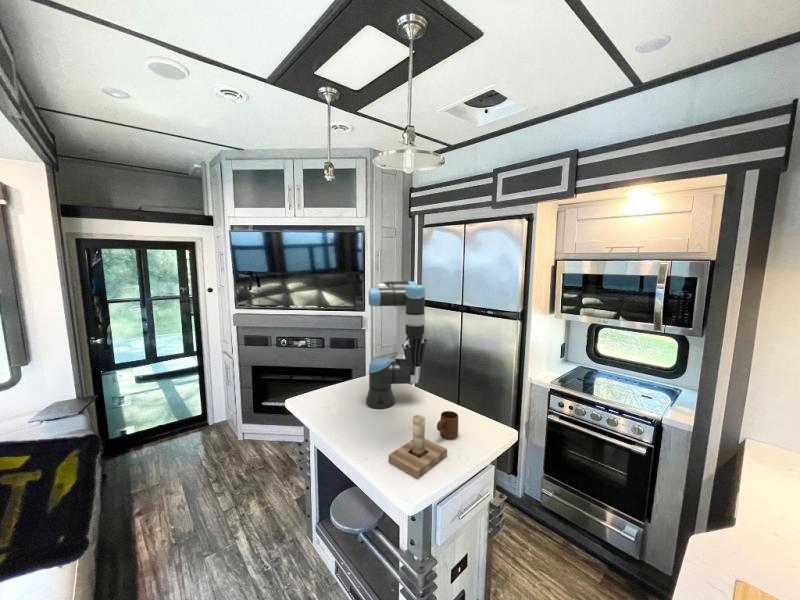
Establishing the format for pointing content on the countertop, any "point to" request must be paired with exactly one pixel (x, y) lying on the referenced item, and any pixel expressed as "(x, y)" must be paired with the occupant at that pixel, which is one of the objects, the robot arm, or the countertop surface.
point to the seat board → (416, 465)
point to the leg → (418, 436)
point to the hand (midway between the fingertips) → (414, 382)
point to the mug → (448, 425)
